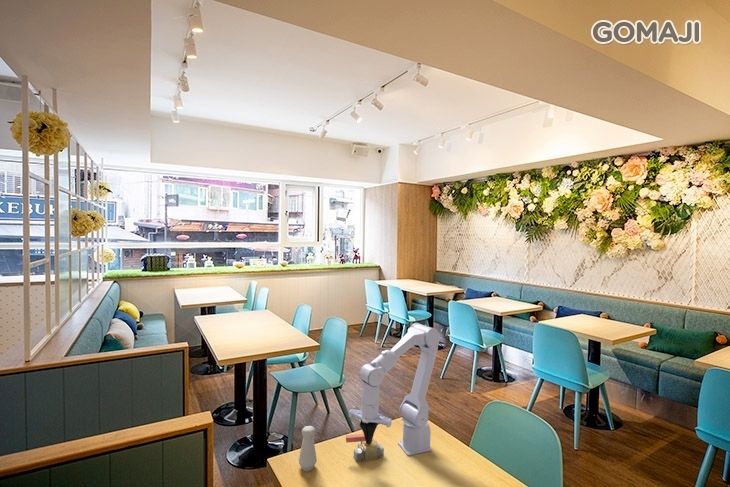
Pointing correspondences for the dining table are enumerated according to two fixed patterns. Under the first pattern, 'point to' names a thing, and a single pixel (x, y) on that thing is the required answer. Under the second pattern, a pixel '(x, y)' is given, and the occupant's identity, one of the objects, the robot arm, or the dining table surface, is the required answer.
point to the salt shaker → (307, 449)
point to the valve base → (368, 451)
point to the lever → (355, 438)
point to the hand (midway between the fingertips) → (369, 442)
